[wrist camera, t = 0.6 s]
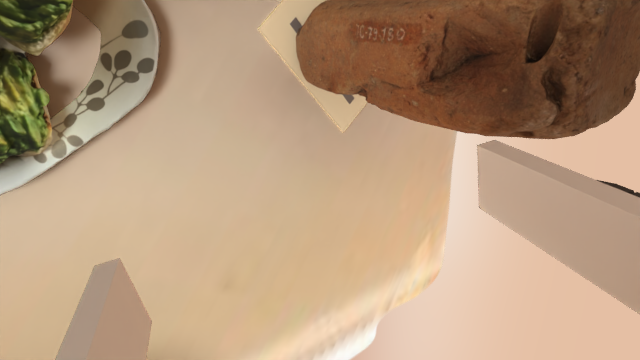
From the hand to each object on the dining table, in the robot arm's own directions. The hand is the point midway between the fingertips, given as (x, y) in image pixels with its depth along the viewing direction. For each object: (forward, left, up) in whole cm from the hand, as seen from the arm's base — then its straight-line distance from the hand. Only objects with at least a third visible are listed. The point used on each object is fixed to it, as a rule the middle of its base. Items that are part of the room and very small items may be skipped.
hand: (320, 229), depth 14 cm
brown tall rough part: (+6, +14, -17) cm, 23 cm away
